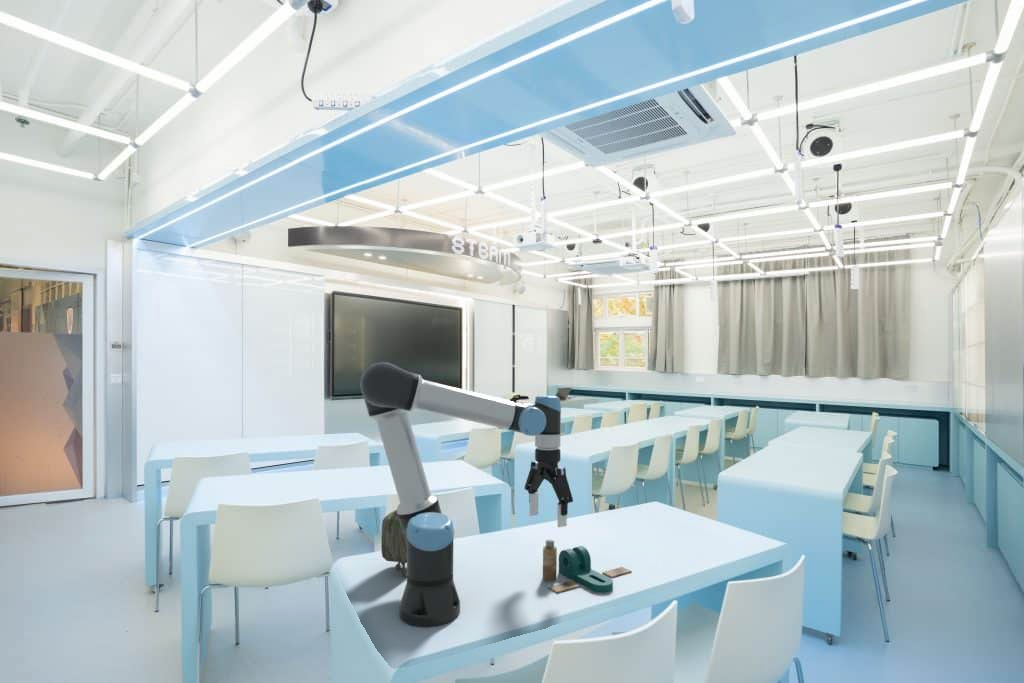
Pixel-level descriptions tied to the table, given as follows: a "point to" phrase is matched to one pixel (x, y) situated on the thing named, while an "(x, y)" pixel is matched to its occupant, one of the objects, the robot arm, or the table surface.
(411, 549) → the robot arm
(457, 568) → the table surface
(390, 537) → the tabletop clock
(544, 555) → the tan cylinder gray tip
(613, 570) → the wooden slat
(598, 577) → the bracket
